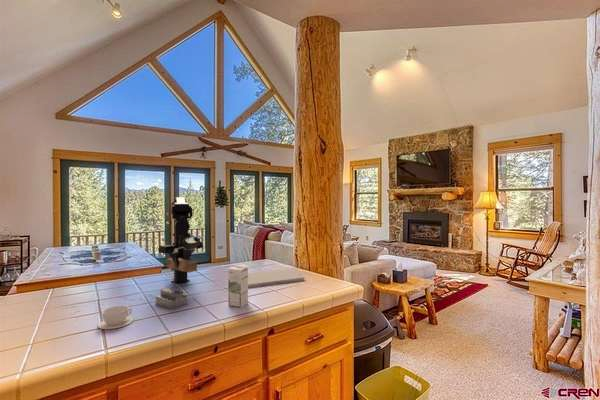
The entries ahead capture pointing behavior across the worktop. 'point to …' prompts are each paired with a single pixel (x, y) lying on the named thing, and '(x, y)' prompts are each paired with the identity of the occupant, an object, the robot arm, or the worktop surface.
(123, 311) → the teacup
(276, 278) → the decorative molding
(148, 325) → the worktop surface
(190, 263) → the walnut bar
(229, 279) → the syrup box
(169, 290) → the ridge block
